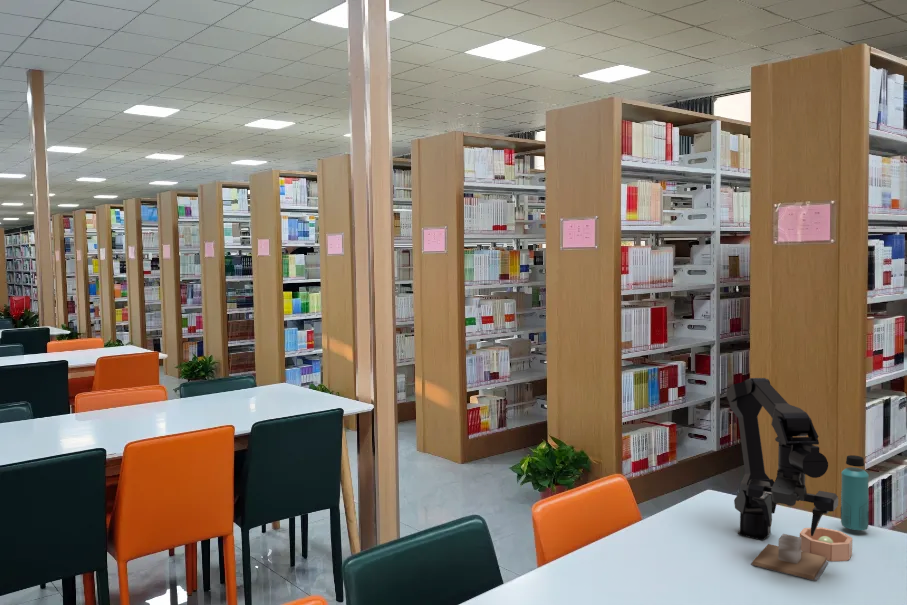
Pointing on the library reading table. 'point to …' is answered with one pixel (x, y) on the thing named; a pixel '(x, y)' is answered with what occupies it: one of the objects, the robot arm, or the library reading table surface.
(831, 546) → the bowl
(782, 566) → the lid
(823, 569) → the mat
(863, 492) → the beverage bottle
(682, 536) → the library reading table surface
